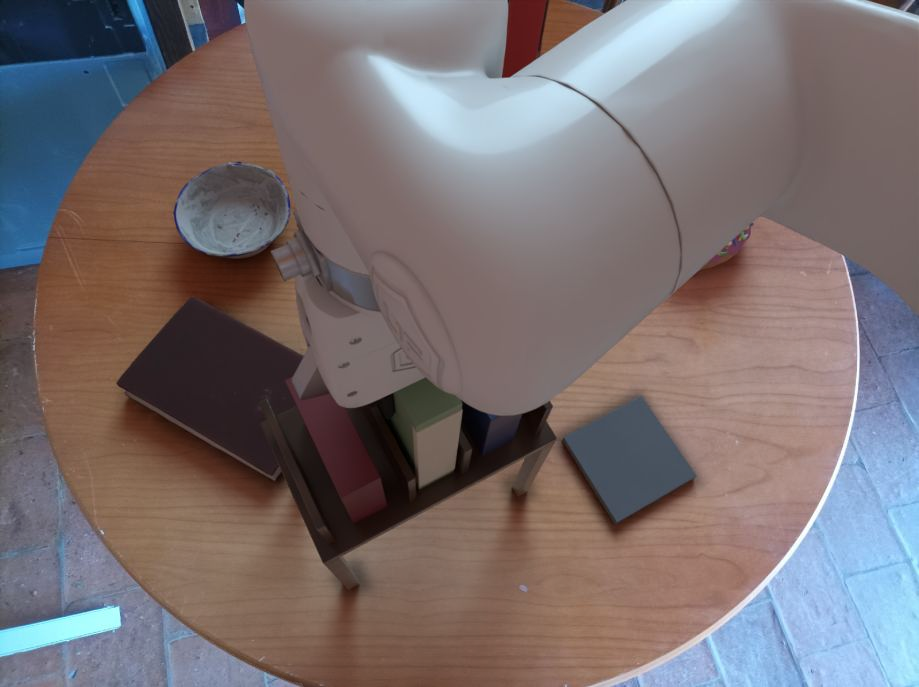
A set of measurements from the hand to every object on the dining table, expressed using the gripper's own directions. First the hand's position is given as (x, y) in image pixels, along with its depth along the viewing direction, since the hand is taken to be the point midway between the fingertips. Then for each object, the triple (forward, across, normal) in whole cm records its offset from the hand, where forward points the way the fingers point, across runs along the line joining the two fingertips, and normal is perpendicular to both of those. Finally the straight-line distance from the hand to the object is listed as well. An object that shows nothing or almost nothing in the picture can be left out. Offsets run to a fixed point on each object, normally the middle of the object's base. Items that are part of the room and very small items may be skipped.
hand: (406, 384), depth 46 cm
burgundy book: (+10, -6, 0) cm, 11 cm away
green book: (+10, 0, 0) cm, 10 cm away
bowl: (+28, -4, +37) cm, 46 cm away
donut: (+28, +44, +13) cm, 54 cm away
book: (+28, -12, +18) cm, 35 cm away
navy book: (+10, +5, 0) cm, 11 cm away
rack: (+28, 0, 0) cm, 28 cm away
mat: (+28, +21, -8) cm, 36 cm away
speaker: (+28, +38, +45) cm, 65 cm away
